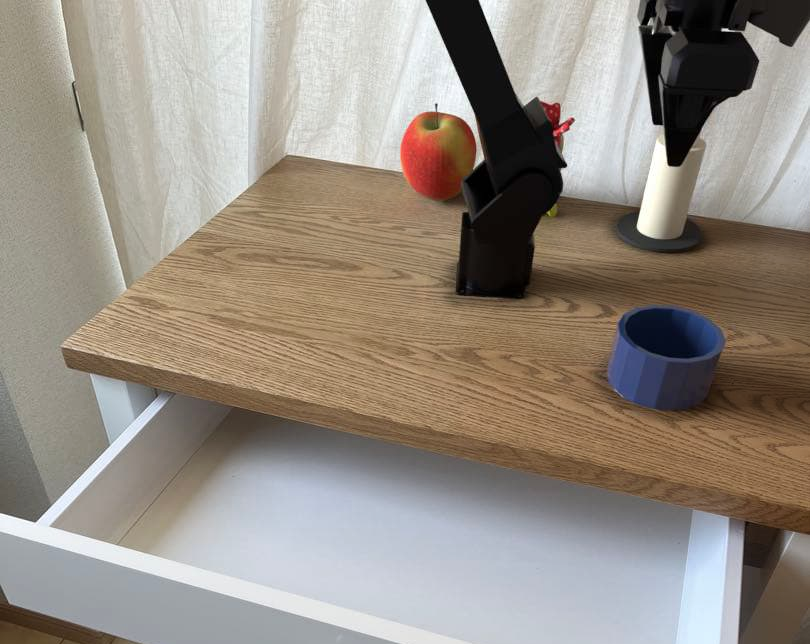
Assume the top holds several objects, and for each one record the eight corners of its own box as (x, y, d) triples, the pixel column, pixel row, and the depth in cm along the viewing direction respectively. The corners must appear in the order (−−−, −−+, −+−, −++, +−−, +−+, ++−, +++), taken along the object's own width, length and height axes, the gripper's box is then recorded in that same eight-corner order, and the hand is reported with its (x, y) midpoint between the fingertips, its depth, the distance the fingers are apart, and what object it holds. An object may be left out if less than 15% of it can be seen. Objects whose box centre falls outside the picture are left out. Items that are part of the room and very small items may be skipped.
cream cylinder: (639, 238, 86) (668, 116, 78) (634, 217, 90) (661, 99, 81) (685, 241, 86) (719, 119, 78) (678, 220, 90) (710, 101, 81)
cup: (611, 411, 66) (624, 358, 63) (601, 353, 72) (613, 301, 69) (715, 418, 66) (734, 365, 62) (697, 359, 72) (714, 307, 68)
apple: (487, 196, 94) (496, 102, 86) (439, 219, 89) (444, 121, 82) (434, 175, 97) (438, 82, 90) (386, 195, 93) (386, 100, 86)
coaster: (620, 250, 85) (621, 246, 85) (611, 211, 92) (612, 208, 91) (708, 255, 85) (709, 251, 85) (693, 216, 91) (694, 212, 91)
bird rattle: (510, 210, 96) (493, 208, 88) (532, 104, 92) (516, 92, 84) (562, 220, 95) (550, 219, 87) (588, 113, 90) (577, 101, 82)
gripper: (872, -43, 54) (786, 195, 65) (798, -97, 66) (737, 110, 78) (698, -51, 54) (643, 188, 65) (658, -103, 67) (618, 104, 78)
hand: (665, 144), depth 72 cm, fingers open, 9 cm apart
